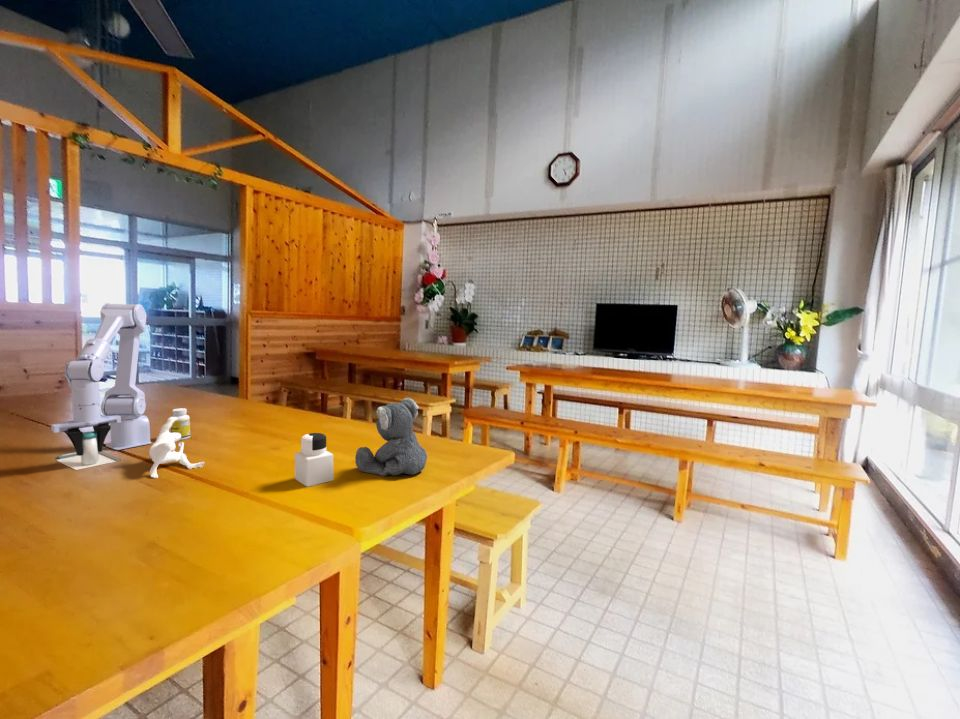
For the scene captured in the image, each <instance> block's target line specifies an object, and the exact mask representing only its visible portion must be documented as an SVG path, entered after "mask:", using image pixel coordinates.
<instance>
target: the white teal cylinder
mask: <svg viewBox="0 0 960 719" xmlns="http://www.w3.org/2000/svg"><path fill="white" fill-rule="evenodd" d="M82 432H83V431H82ZM97 437H98V434H97V432H96V431H94V430H92V431H91V430H90V431H84V432H83V436H82V448H83V455H81V464H93V463H97V462H98V461H99V460H98V442H97Z"/></svg>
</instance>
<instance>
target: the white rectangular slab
mask: <svg viewBox="0 0 960 719" xmlns="http://www.w3.org/2000/svg"><path fill="white" fill-rule="evenodd" d="M121 459H122V458H119V457H117V456H115V455H112V454H109V453H107V452H104V451H102V452H98V460H99V461H98V462H97V463H93V464H81V456H73V457H68V458H63V459H59V458H57V459H56V462H58V463H60V464H63V465H65V466H66V467H69V468H71V469H72V470H75V471H79V470H83V469H87V468H93V467H97V466H102V465H105V464H106V465H107V464H111V463H115V462H121Z"/></svg>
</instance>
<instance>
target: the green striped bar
mask: <svg viewBox="0 0 960 719" xmlns="http://www.w3.org/2000/svg"><path fill="white" fill-rule="evenodd" d="M74 456H79V455H77V454H76V451H75V452H71V453H64V454H59V455H57V456H56V458H57V459H63V458H69V457H74Z"/></svg>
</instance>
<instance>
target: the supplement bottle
mask: <svg viewBox="0 0 960 719" xmlns="http://www.w3.org/2000/svg"><path fill="white" fill-rule="evenodd" d="M171 413H172V416H171V417H177V418H178V420H177V421H174V422H173V424H172V426H171V428H170V433H174V432H175V433H180V434H181V439H180V440H179V441H182V440H183V441H184V440H187V439H190V438H191V421H190V420H191V418H190V415H188V414H187V413H188V410H187V408H185V407H184V408H182V407H180V408H179V407H178V408H173V409H172V412H171Z"/></svg>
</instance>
